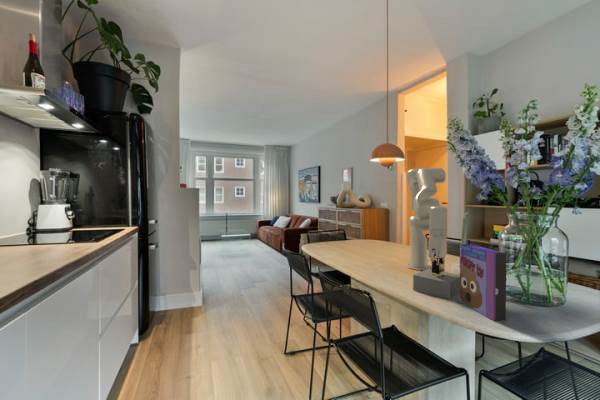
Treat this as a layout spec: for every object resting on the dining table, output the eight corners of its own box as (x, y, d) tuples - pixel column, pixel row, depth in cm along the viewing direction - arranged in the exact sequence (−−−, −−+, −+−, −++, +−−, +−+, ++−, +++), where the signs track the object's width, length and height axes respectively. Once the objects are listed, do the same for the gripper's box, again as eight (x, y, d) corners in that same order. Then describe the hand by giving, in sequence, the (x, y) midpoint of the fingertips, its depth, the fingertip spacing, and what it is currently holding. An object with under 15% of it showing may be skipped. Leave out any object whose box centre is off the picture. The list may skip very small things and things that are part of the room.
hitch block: (428, 282, 138) (428, 268, 138) (463, 290, 127) (463, 275, 126) (413, 289, 128) (413, 274, 128) (450, 299, 116) (450, 283, 116)
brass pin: (434, 280, 131) (434, 261, 131) (446, 283, 127) (446, 263, 127) (430, 282, 127) (430, 263, 127) (441, 285, 123) (441, 265, 123)
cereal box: (459, 301, 113) (459, 244, 113) (470, 301, 114) (470, 243, 113) (493, 321, 96) (493, 252, 96) (505, 320, 96) (506, 252, 96)
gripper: (437, 230, 135) (437, 267, 136) (421, 233, 124) (421, 273, 124) (453, 231, 130) (453, 270, 130) (439, 235, 118) (439, 277, 119)
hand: (438, 271), depth 127 cm, fingers closed on brass pin, 5 cm apart
